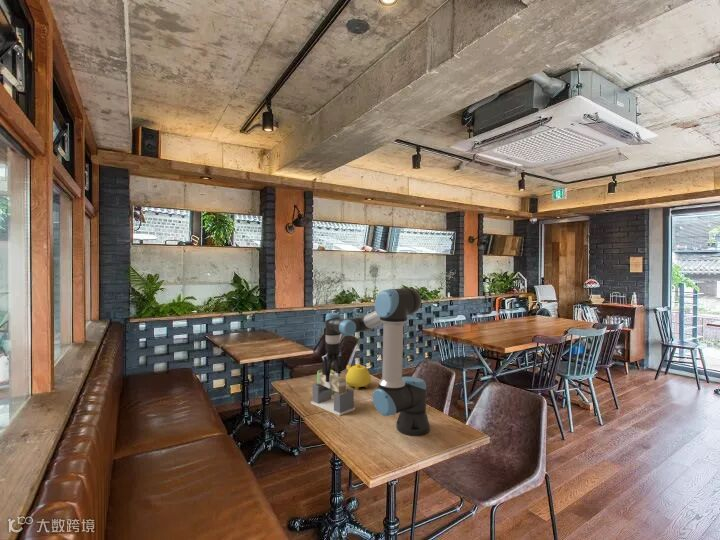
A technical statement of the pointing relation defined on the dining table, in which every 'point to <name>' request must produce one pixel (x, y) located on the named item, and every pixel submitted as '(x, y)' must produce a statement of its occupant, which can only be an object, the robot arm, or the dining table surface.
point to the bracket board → (333, 400)
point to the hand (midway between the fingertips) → (332, 386)
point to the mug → (319, 377)
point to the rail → (334, 382)
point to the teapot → (358, 376)
